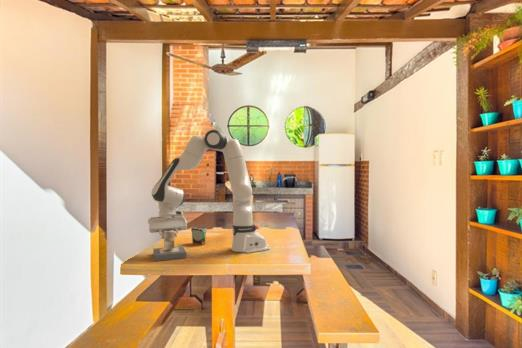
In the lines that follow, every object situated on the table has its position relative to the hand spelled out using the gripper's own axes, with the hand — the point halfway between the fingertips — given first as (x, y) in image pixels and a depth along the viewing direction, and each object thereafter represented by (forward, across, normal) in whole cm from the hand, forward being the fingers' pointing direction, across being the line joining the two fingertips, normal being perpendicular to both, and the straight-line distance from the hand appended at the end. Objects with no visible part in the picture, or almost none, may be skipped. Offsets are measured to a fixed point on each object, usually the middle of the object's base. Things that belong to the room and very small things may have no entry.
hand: (169, 237), depth 183 cm
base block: (+7, 0, +8) cm, 10 cm away
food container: (-10, +21, +25) cm, 34 cm away
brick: (+4, 0, +5) cm, 6 cm away
